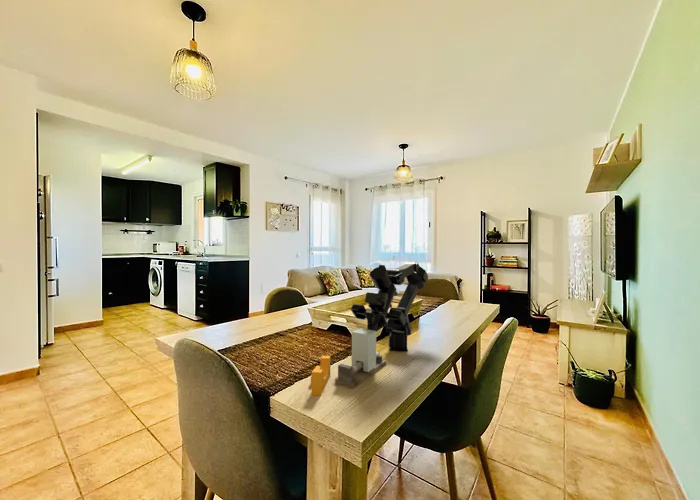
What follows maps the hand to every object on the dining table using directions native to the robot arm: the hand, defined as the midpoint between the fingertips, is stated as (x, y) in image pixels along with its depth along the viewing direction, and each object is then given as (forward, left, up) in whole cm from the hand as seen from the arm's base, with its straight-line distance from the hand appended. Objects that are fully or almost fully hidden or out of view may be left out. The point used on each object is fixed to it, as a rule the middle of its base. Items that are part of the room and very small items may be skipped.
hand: (368, 336), depth 97 cm
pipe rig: (+2, +3, -11) cm, 11 cm away
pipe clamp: (+14, +12, -11) cm, 22 cm away
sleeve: (+1, +2, -9) cm, 10 cm away
